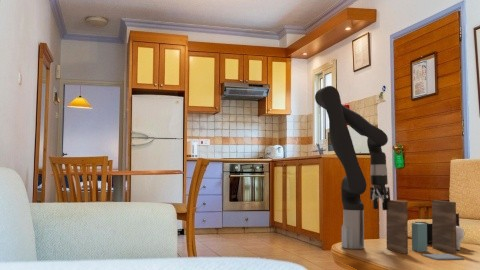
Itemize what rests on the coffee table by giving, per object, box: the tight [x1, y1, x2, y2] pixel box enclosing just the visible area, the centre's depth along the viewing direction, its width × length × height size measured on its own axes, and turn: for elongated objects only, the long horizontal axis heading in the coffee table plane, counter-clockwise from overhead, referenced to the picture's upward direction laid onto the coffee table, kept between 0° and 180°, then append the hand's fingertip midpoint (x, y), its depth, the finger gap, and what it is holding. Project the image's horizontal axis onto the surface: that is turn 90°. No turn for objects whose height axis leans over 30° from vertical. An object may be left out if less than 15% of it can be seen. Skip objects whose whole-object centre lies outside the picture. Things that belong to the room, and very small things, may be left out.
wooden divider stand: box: [385, 199, 457, 255], centre depth 226 cm, size 24×16×22 cm, turn 101°
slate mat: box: [421, 253, 465, 261], centre depth 207 cm, size 12×11×1 cm
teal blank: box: [411, 222, 428, 253], centre depth 226 cm, size 4×5×12 cm
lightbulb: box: [456, 225, 465, 251], centre depth 229 cm, size 6×6×11 cm
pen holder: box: [414, 221, 433, 245], centre depth 253 cm, size 9×9×10 cm
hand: (380, 209), depth 234 cm, fingers open, 8 cm apart
